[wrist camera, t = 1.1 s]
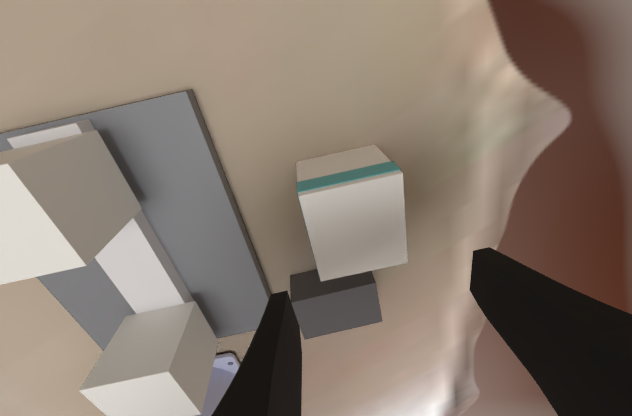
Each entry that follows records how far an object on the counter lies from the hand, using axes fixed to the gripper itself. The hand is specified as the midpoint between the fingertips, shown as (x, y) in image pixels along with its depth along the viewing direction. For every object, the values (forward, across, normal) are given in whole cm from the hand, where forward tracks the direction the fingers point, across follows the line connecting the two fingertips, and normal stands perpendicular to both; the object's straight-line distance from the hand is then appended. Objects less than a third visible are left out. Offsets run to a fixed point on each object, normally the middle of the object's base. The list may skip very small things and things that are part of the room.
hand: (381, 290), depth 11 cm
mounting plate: (+9, +14, +1) cm, 17 cm away
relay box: (+9, +2, +8) cm, 12 cm away
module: (+9, 0, 0) cm, 9 cm away
